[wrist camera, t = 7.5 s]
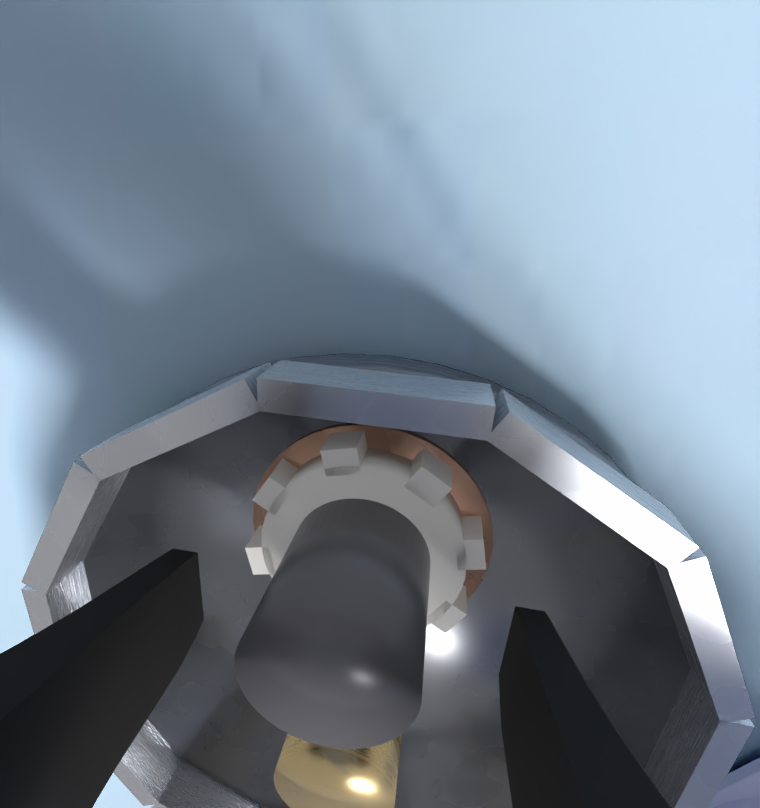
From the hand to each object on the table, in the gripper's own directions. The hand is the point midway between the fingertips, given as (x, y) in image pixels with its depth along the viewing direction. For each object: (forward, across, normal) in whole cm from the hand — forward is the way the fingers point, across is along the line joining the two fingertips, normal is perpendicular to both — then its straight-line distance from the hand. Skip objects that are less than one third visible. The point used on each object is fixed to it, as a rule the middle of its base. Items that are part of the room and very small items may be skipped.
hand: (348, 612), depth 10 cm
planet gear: (+3, 0, 0) cm, 3 cm away
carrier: (+4, 0, +6) cm, 7 cm away
